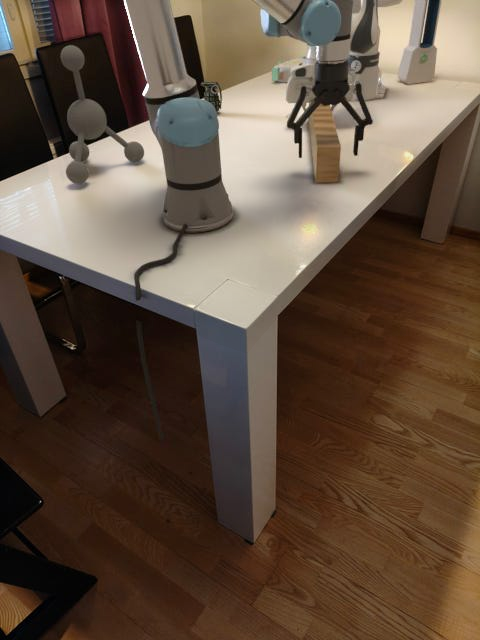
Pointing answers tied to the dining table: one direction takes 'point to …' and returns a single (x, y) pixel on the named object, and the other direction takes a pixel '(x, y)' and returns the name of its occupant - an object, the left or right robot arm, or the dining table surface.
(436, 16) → the electronic device
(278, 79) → the white green flat box
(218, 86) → the grenade
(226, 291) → the dining table surface
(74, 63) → the molecular model
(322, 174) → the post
